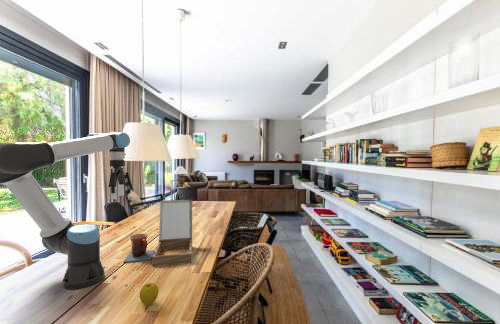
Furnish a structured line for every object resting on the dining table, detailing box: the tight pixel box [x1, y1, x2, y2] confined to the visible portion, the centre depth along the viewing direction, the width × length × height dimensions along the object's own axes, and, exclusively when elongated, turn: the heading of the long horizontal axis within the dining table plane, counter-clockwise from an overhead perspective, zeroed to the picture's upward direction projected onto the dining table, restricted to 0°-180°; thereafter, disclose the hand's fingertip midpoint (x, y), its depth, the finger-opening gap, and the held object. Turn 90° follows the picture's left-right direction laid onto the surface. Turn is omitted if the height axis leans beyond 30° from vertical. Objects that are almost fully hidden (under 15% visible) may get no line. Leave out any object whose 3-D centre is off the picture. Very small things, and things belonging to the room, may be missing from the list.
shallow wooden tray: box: [151, 237, 193, 267], centre depth 134 cm, size 23×19×6 cm
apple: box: [138, 282, 160, 306], centre depth 89 cm, size 6×6×8 cm
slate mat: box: [123, 249, 155, 264], centre depth 132 cm, size 13×13×1 cm
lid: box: [158, 199, 193, 241], centre depth 149 cm, size 23×19×1 cm
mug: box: [129, 233, 148, 257], centre depth 132 cm, size 12×9×10 cm
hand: (117, 197), depth 136 cm, fingers open, 13 cm apart
